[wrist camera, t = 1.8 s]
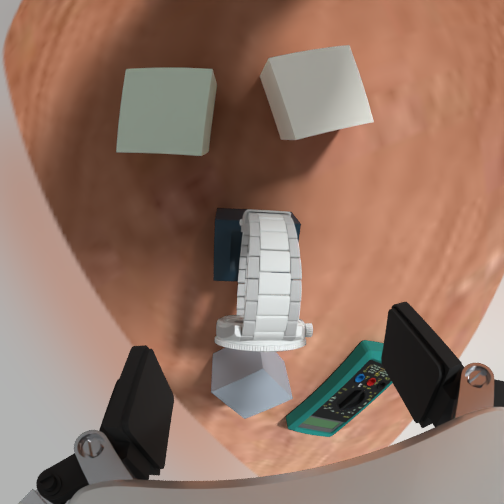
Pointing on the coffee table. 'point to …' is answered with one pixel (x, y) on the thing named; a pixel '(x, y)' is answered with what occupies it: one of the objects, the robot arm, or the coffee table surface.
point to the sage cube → (166, 111)
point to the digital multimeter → (343, 393)
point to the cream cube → (315, 92)
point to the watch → (260, 279)
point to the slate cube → (249, 380)
